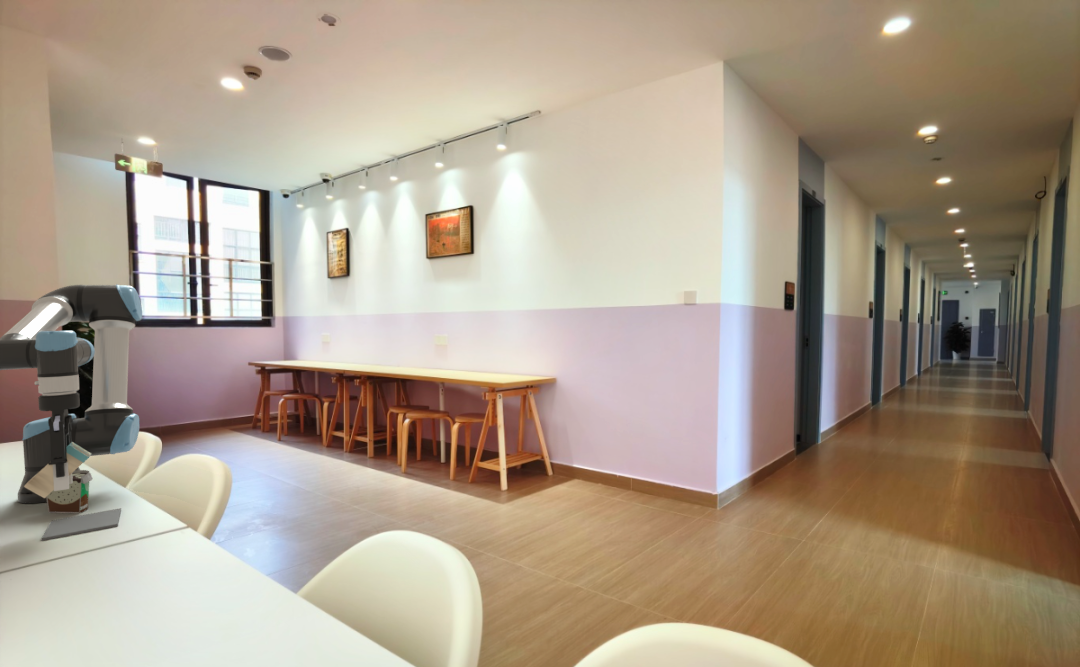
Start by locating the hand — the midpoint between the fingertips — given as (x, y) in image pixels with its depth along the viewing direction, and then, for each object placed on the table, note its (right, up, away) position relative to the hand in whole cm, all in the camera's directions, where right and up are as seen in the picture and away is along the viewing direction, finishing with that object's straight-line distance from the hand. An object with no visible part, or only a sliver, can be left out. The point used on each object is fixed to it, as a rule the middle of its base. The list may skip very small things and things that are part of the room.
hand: (63, 486), depth 132 cm
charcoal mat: (+3, -10, +2) cm, 11 cm away
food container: (-10, -10, +14) cm, 20 cm away
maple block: (-4, 0, -3) cm, 5 cm away
